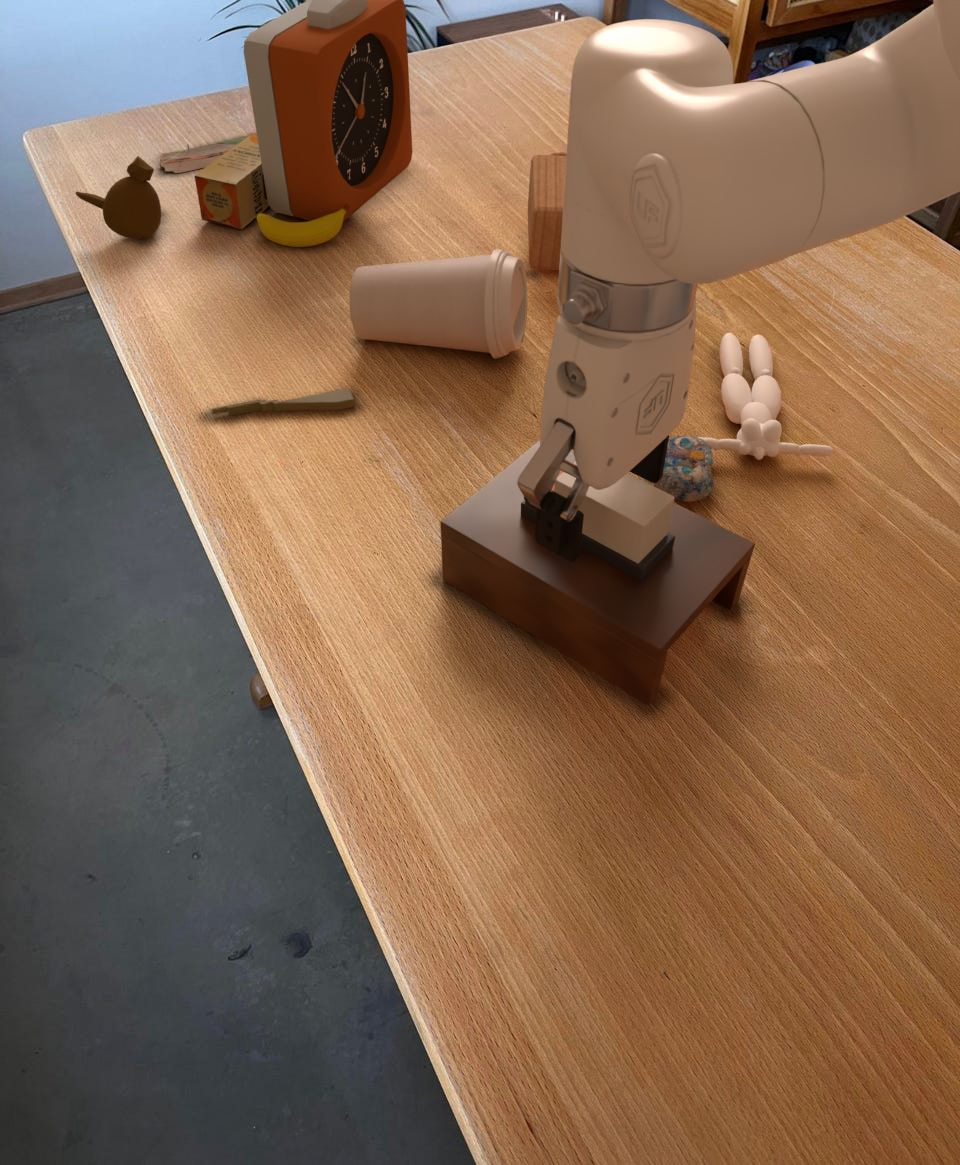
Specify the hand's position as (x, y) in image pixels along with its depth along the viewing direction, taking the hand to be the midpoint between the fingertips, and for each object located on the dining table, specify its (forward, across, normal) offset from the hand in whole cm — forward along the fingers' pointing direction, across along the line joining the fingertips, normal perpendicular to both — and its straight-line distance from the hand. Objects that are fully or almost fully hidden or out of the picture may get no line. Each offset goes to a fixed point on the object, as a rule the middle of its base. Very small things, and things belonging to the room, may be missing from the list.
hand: (600, 510), depth 67 cm
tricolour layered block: (+2, 0, 0) cm, 2 cm away
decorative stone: (+8, +14, +1) cm, 17 cm away
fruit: (+7, +20, +52) cm, 56 cm away
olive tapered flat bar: (+7, +1, +33) cm, 34 cm away
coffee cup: (+5, +14, +36) cm, 39 cm away
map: (+8, +33, +75) cm, 83 cm away
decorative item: (+4, +34, +27) cm, 44 cm away
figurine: (+4, +11, +66) cm, 67 cm away
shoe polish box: (+5, +30, +66) cm, 73 cm away
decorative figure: (+6, +35, +7) cm, 36 cm away
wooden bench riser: (+8, 0, 0) cm, 8 cm away
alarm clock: (+8, +33, +58) cm, 67 cm away
